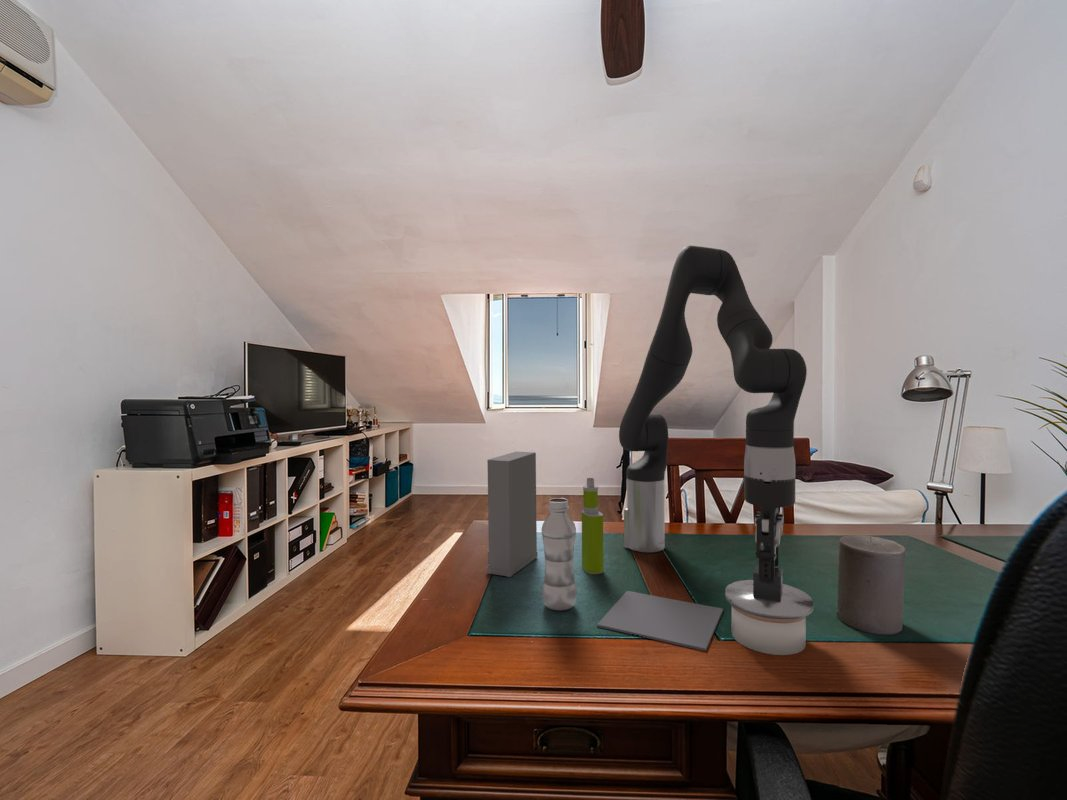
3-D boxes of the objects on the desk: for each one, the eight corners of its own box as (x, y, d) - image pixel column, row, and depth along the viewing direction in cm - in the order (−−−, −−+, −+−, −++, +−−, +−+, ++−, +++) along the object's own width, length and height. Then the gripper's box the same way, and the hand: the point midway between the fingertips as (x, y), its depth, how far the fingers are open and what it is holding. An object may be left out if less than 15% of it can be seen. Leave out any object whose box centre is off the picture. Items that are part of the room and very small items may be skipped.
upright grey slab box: (514, 554, 129) (513, 451, 128) (537, 557, 127) (536, 452, 126) (485, 573, 117) (483, 459, 116) (510, 578, 114) (508, 461, 113)
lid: (719, 608, 84) (719, 577, 84) (731, 580, 96) (731, 553, 96) (812, 626, 78) (812, 592, 78) (813, 594, 90) (814, 564, 89)
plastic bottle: (581, 602, 102) (580, 497, 101) (571, 617, 95) (570, 505, 94) (548, 597, 104) (547, 495, 103) (537, 612, 97) (536, 503, 96)
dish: (725, 645, 85) (725, 607, 85) (735, 616, 95) (736, 583, 95) (805, 662, 80) (805, 622, 79) (807, 630, 89) (807, 595, 89)
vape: (595, 563, 122) (595, 476, 121) (605, 573, 116) (605, 481, 116) (580, 565, 121) (579, 477, 120) (589, 574, 116) (588, 482, 115)
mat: (597, 626, 92) (597, 624, 92) (627, 592, 106) (627, 590, 106) (705, 651, 83) (705, 648, 83) (723, 610, 97) (723, 608, 97)
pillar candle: (824, 615, 95) (826, 532, 94) (860, 605, 99) (863, 524, 98) (879, 640, 86) (881, 548, 85) (916, 628, 90) (919, 540, 89)
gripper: (749, 465, 94) (749, 557, 95) (738, 479, 82) (738, 584, 82) (797, 468, 91) (796, 563, 91) (793, 483, 78) (792, 593, 79)
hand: (769, 573), depth 87 cm, fingers open, 8 cm apart
